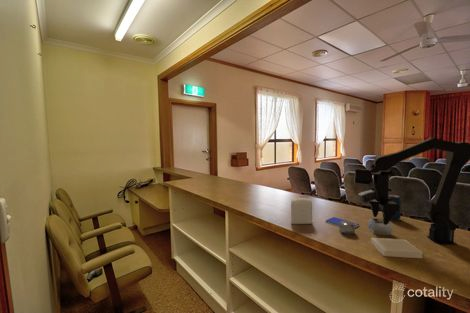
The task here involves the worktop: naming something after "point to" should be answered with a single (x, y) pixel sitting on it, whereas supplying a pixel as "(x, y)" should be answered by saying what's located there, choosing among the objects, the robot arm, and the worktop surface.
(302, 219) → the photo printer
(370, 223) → the housing
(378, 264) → the worktop surface
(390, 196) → the soda can
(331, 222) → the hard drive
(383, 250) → the stand
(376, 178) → the robot arm
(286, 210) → the worktop surface
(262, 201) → the worktop surface
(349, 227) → the tin
